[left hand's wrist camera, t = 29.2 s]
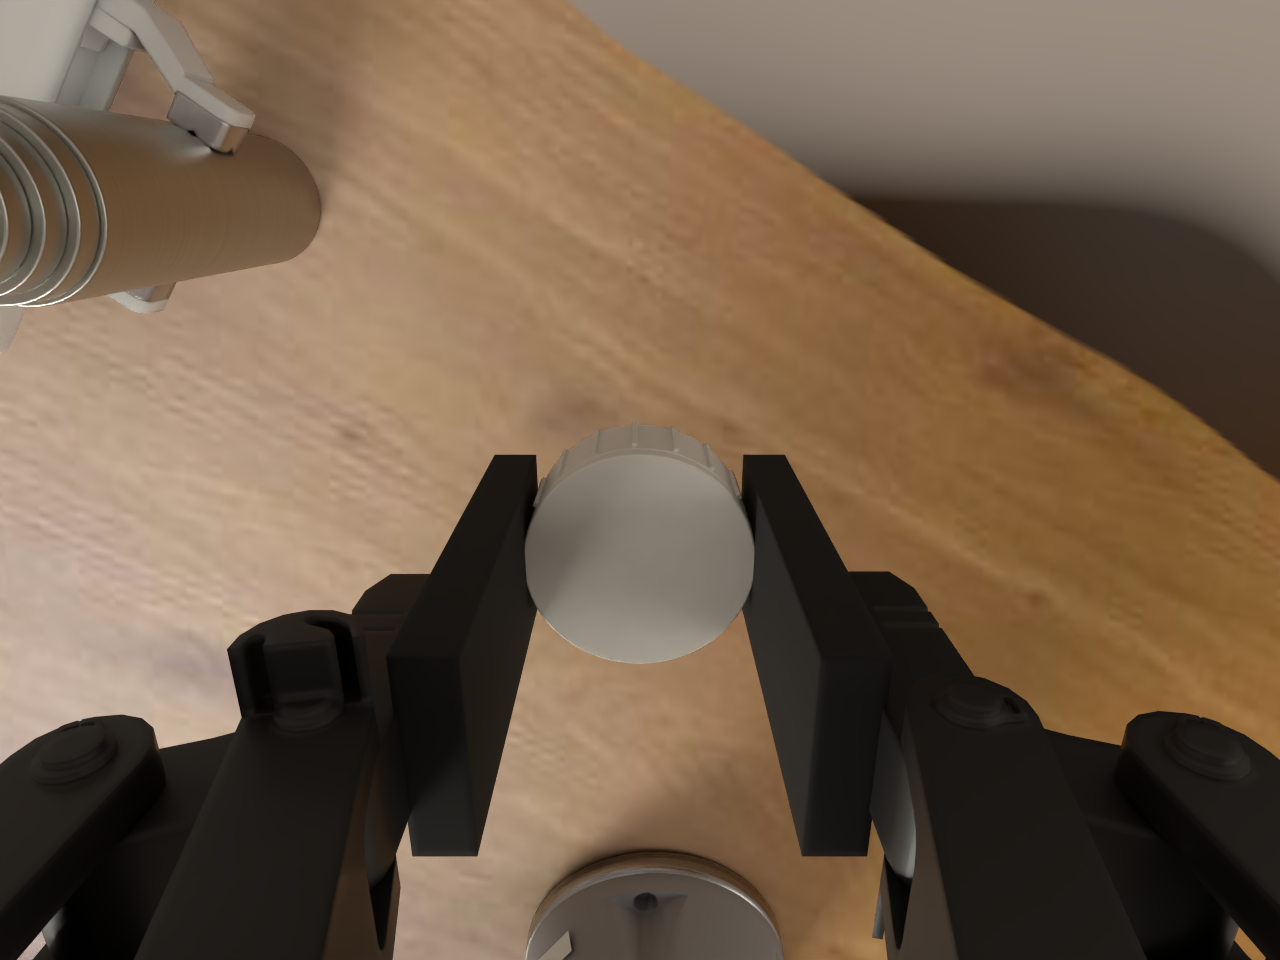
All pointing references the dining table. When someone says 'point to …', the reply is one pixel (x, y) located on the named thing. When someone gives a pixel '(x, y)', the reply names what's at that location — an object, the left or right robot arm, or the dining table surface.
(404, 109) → the dining table surface
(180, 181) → the bottle
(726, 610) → the cap
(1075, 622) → the dining table surface
